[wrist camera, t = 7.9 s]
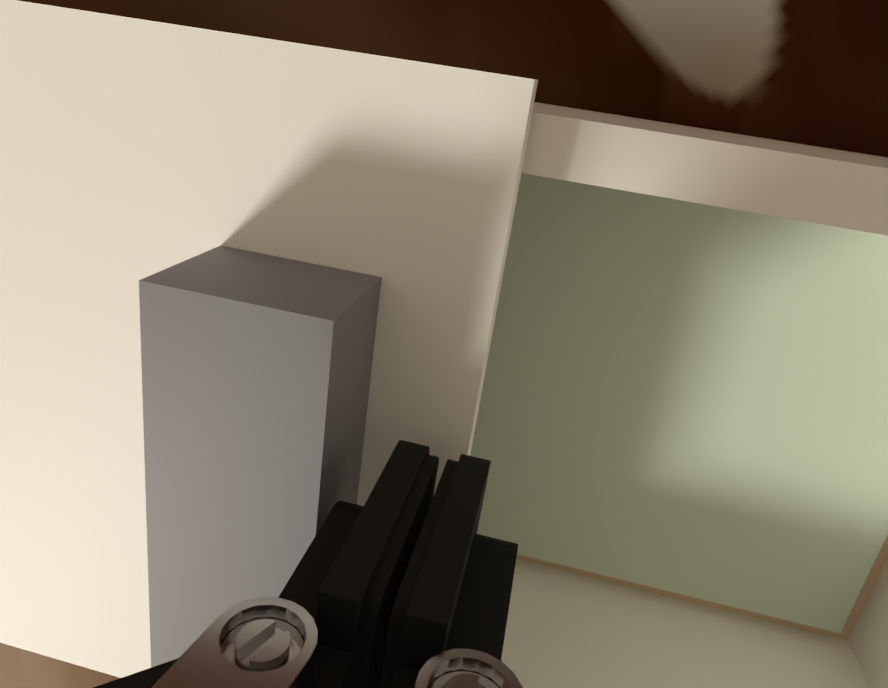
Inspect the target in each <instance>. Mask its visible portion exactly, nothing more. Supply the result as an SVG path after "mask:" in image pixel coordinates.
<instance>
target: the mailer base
mask: <svg viewBox="0 0 888 688" xmlns="http://www.w3.org/2000/svg"><path fill="white" fill-rule="evenodd" d="M470 456H473V457H477V458H482V459H486V460H491V463H490V469H489V474H488V479H487V484H486V489H485V494H484V499H483V505H482V510H481V515H480V520H479V525H478V530H477V534H480V535H484V536H488V537H492V538H496V539H500V540H505V541H509V542H513V543H517V544H518V551H517V557H516V564H515V571H514V577H513V584H512V591H511V597H510V604H509V611H508V618H507V624H506V631H505V638H504V644H503V651H502V658H501V661H502V662H503V663H504V664H505V665H506V666H507V667H508V668H510V669H511V670H512V671H513V672H514V674H515V675H516V677H517V678H518V680H519V682H520V683H521V685H522V687H523V688H888V157H883V156H877V155H870V154H864V153H858V152H851V151H845V150H839V149H832V148H826V147H819V146H813V145H807V144H800V143H794V142H788V141H781V140H775V139H769V138H762V137H756V136H749V135H743V134H737V133H730V132H724V131H718V130H711V129H705V128H698V127H692V126H686V125H679V124H673V123H667V122H660V121H654V120H647V119H641V118H635V117H628V116H622V115H616V114H609V113H603V112H597V111H590V110H584V109H577V108H571V107H565V106H558V105H552V104H546V103H539V102H534V106H533V112H532V117H531V123H530V128H529V134H528V139H527V145H526V150H525V156H524V161H523V167H522V172H521V178H520V183H519V189H518V194H517V200H516V206H515V211H514V217H513V222H512V228H511V233H510V239H509V244H508V250H507V255H506V261H505V266H504V272H503V277H502V283H501V288H500V294H499V299H498V305H497V310H496V316H495V321H494V327H493V333H492V338H491V344H490V349H489V355H488V360H487V366H486V371H485V377H484V382H483V388H482V393H481V399H480V404H479V410H478V415H477V421H476V426H475V432H474V437H473V443H472V448H471V454H470Z"/></svg>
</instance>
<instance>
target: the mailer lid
mask: <svg viewBox="0 0 888 688" xmlns="http://www.w3.org/2000/svg"><path fill="white" fill-rule="evenodd" d="M537 84H538V80H536V79H530V78H523V77H516V76H510V75H503V74H497V73H490V72H484V71H477V70H471V69H464V68H457V67H451V66H444V65H438V64H431V63H425V62H418V61H412V60H405V59H399V58H392V57H385V56H379V55H372V54H366V53H359V52H353V51H346V50H340V49H333V48H326V47H320V46H313V45H307V44H300V43H294V42H287V41H281V40H274V39H267V38H261V37H254V36H248V35H241V34H235V33H228V32H222V31H215V30H208V29H202V28H195V27H189V26H182V25H176V24H169V23H163V22H156V21H149V20H143V19H136V18H130V17H123V16H117V15H110V14H104V13H97V12H90V11H84V10H77V9H71V8H64V7H58V6H51V5H45V4H38V3H32V2H25V1H18V0H0V643H4V644H7V645H11V646H14V647H18V648H21V649H24V650H28V651H31V652H35V653H38V654H41V655H45V656H48V657H52V658H55V659H58V660H62V661H65V662H69V663H72V664H75V665H79V666H82V667H86V668H89V669H92V670H96V671H99V672H103V673H106V674H109V675H113V676H116V677H120V678H123V677H126V676H129V675H131V674H134V673H137V672H140V671H143V670H146V669H149V668H152V667H154V666H157V665H160V664H163V663H166V662H169V661H172V660H174V659H177V658H180V657H181V656H182V654H183V653H184V652H185V651H186V650H187V649H188V648H189V647H190V646H191V645H192V644H193V643H194V642H195V641H196V640H197V639H198V637H199V636H200V635H201V634H202V633H203V632H204V631H205V630H206V629H207V628H208V627H209V626H210V625H211V624H212V623H213V622H214V620H215V619H216V618H217V617H218V616H220V615H221V614H222V613H223V612H225V611H226V610H227V609H228V608H230V607H231V606H234V605H236V604H238V603H240V602H242V601H245V600H249V599H254V598H259V597H279V595H280V594H281V592H282V590H283V589H284V587H285V585H286V584H287V582H288V580H289V579H290V577H291V576H292V574H293V572H294V571H295V569H296V567H297V566H298V564H299V562H300V561H301V559H302V557H303V556H304V554H305V552H306V551H307V549H308V547H309V546H310V544H311V542H312V541H313V539H314V538H315V536H316V534H317V533H318V531H319V529H320V528H321V526H322V524H323V523H324V521H325V519H326V518H327V516H328V514H329V513H330V511H331V509H332V508H333V506H334V505H335V504H336V502H338V501H345V502H349V503H353V504H357V505H361V506H364V505H365V503H366V501H367V499H368V497H369V495H370V494H371V492H372V490H373V488H374V486H375V484H376V482H377V480H378V479H379V477H380V475H381V473H382V471H383V469H384V467H385V465H386V464H387V462H388V460H389V458H390V456H391V454H392V452H393V450H394V449H395V447H396V445H397V443H398V441H399V440H403V441H408V442H412V443H416V444H421V445H425V446H429V448H430V451H429V455H433V456H437V457H439V464H438V470H437V477H436V483H435V489H434V494H435V491H436V489H437V486H438V483H439V481H440V478H441V475H442V473H443V470H444V467H445V465H446V462H447V460H448V459H450V460H454V461H459V458H460V456H461V454H464V455H469V456H470V454H471V448H472V443H473V437H474V432H475V426H476V421H477V415H478V410H479V404H480V399H481V393H482V388H483V382H484V377H485V371H486V366H487V360H488V355H489V349H490V344H491V338H492V333H493V327H494V321H495V316H496V310H497V305H498V299H499V294H500V288H501V283H502V277H503V272H504V266H505V261H506V255H507V250H508V244H509V239H510V233H511V228H512V222H513V217H514V211H515V206H516V200H517V194H518V189H519V183H520V178H521V172H522V167H523V161H524V156H525V150H526V145H527V139H528V134H529V128H530V123H531V117H532V112H533V106H534V101H535V95H536V90H537ZM433 497H434V495H433Z"/></svg>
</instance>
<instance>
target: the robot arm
mask: <svg viewBox="0 0 888 688" xmlns="http://www.w3.org/2000/svg"><path fill="white" fill-rule="evenodd" d="M429 451H430V448H429V446H425V445H421V444H416V443H412V442H408V441H403V440H399V441H398V443H397V445H396V447H395V449H394V450H393V452H392V454H391V456H390V458H389V460H388V462H387V464H386V465H385V467H384V469H383V471H382V473H381V475H380V477H379V479H378V480H377V482H376V484H375V486H374V488H373V490H372V492H371V494H370V495H369V497H368V499H367V501H366V503H365V505H364V506H361V505H357V504H353V503H349V502H345V501H338V502H336V504H335V505H334V506H333V508H332V509H331V511H330V513H329V514H328V516H327V518H326V519H325V521H324V523H323V524H322V526H321V528H320V529H319V531H318V533H317V534H316V536H315V538H314V539H313V541H312V542H311V544H310V546H309V547H308V549H307V551H306V552H305V554H304V556H303V557H302V559H301V561H300V562H299V564H298V566H297V567H296V569H295V571H294V572H293V574H292V576H291V577H290V579H289V580H288V582H287V584H286V585H285V587H284V589H283V590H282V592H281V594H280V595H279V597H259V598H254V599H249V600H245V601H242V602H240V603H238V604H236V605H234V606H231V607H230V608H228V609H227V610H226V611H225V612H223V613H222V614H221V615H220V616H218V617H217V618H216V619H215V620H214V622H213V623H212V624H211V625H210V626H209V627H208V628H207V629H206V630H205V631H204V632H203V633H202V634H201V635H200V636H199V637H198V639H197V640H196V641H195V642H194V643H193V644H192V645H191V646H190V647H189V648H188V649H187V650H186V651H185V652H184V653H183V654H182V656H181V657H180V658H177V659H174V660H172V661H169V662H166V663H163V664H160V665H157V666H154V667H152V668H149V669H146V670H143V671H140V672H137V673H134V674H131V675H129V676H126V677H123V678H120V679H117V680H114V681H111V682H108V683H106V684H103V685H100V686H97V687H94V688H523V687H522V685H521V683H520V682H519V680H518V678H517V677H516V675H515V674H514V672H513V671H512V670H511V669H510V668H508V667H507V666H506V665H505V664H504V663H503V662H502V661H501V658H502V651H503V644H504V638H505V631H506V624H507V618H508V611H509V604H510V597H511V591H512V584H513V577H514V571H515V564H516V557H517V551H518V544H517V543H513V542H509V541H505V540H500V539H496V538H492V537H488V536H484V535H480V534H477V530H478V525H479V520H480V515H481V510H482V505H483V499H484V494H485V489H486V484H487V479H488V474H489V469H490V463H491V460H486V459H482V458H477V457H473V456H469V455H464V454H461V456H460V458H459V461H454V460H450V459H448V460H447V462H446V465H445V467H444V470H443V473H442V475H441V478H440V481H439V483H438V486H437V489H436V491H435V494H434V489H435V483H436V477H437V470H438V464H439V457H437V456H433V455H429ZM433 495H434V497H433Z"/></svg>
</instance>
